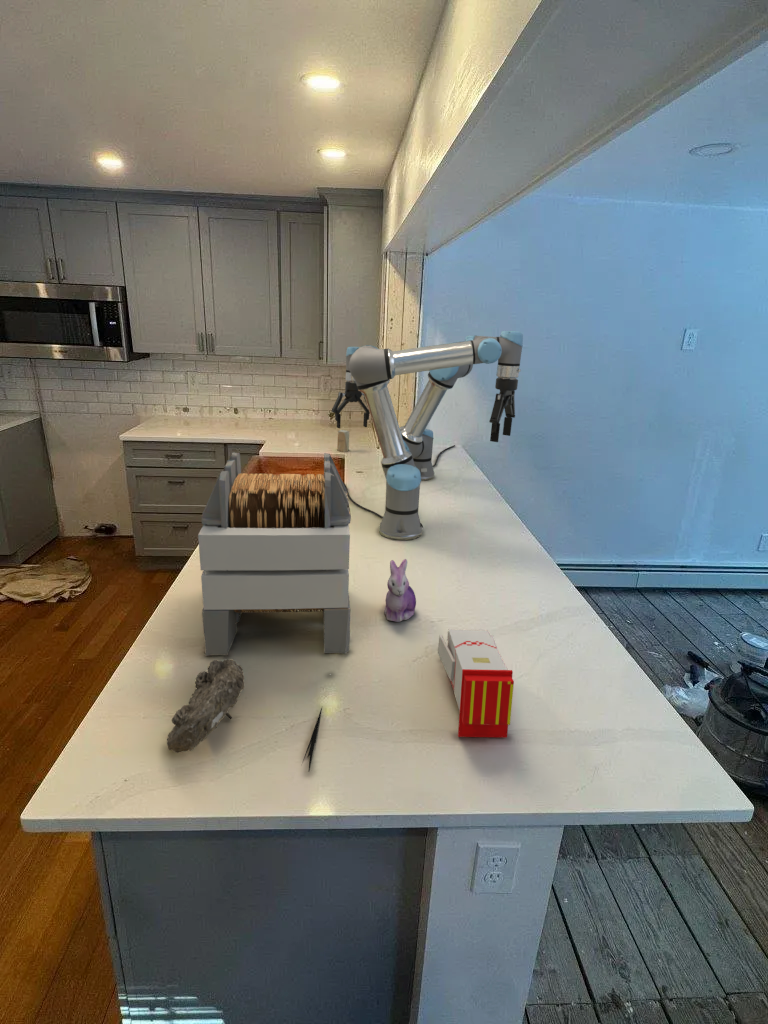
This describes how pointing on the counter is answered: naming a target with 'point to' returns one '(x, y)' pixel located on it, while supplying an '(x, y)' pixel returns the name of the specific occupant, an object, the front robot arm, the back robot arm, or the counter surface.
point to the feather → (313, 740)
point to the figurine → (399, 594)
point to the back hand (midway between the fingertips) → (351, 427)
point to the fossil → (206, 705)
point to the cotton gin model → (275, 551)
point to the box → (343, 441)
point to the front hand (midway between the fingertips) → (500, 438)
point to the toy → (478, 682)
